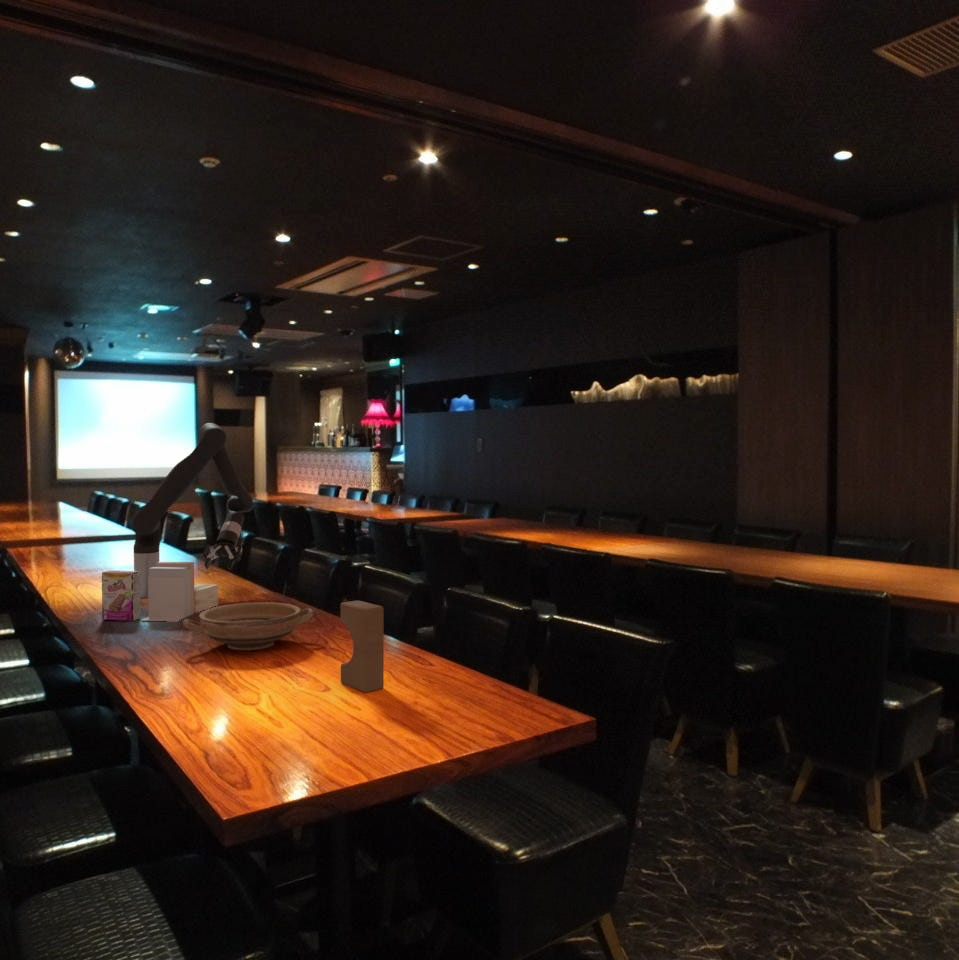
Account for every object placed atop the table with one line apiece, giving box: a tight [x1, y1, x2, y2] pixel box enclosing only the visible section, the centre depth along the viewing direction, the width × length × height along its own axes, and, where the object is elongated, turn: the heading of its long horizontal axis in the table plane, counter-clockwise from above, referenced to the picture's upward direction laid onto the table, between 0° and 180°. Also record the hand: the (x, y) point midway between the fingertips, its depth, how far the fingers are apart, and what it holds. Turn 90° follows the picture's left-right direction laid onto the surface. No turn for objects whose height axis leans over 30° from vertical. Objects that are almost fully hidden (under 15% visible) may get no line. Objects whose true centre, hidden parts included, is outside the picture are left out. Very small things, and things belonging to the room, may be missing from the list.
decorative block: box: [339, 600, 385, 694], centre depth 191 cm, size 11×6×20 cm, turn 42°
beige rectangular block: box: [194, 583, 219, 614], centre depth 282 cm, size 7×14×8 cm, turn 167°
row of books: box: [141, 561, 195, 623], centre depth 268 cm, size 12×14×18 cm
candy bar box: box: [101, 569, 141, 622], centre depth 264 cm, size 11×5×16 cm, turn 84°
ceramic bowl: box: [182, 601, 314, 652], centre depth 231 cm, size 37×29×10 cm
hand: (217, 568), depth 301 cm, fingers open, 8 cm apart
